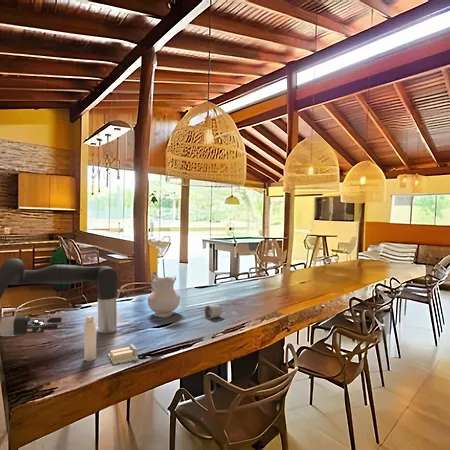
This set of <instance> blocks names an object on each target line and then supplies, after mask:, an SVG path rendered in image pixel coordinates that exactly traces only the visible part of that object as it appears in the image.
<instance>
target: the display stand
mask: <svg viewBox="0 0 450 450" xmlns="http://www.w3.org/2000/svg"><path fill="white" fill-rule="evenodd" d="M108 356H109V357H108ZM107 357H108V359H109V360H110V359H111V360H110V362H111V361H112V362H111V364H112V365H113V364H116V365H118V364H117V363H120V364H124V363H123V362H125V363H128V361H129V362H132V360H134V361H139V357H138V355H137V347H136V346H135V345H134V344H133V343H131V344H129V346H127V347H122V348H116V349H112V350H110V351H109V353H107Z"/></svg>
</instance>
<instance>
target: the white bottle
mask: <svg viewBox="0 0 450 450" xmlns="http://www.w3.org/2000/svg"><path fill="white" fill-rule="evenodd" d="M83 356H84V357H83V360H84V361H85V360H88V361H87V362H90V361H89V360H93V361H95V360H97V320H96V319H95V316H94V315H87V316H85V320H84V321H83ZM94 359H95V360H94Z"/></svg>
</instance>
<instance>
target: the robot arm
mask: <svg viewBox="0 0 450 450" xmlns="http://www.w3.org/2000/svg"><path fill="white" fill-rule="evenodd" d="M81 282H94V283H98V292H97V332H98V333H99V334H100V333H101V334H110V333H114V332H116V331H117V330H118V328H117V327H118V326H117V325H118V323H117V321H118V320H117V319H118V316H117V315H118V313H117V309H118V308H117V306H118V305H117V293H118V273H117V270H116V269H114V268H113V267H111V266H108V265H101V266H81V265H76V264H53V265H48V266H46V267H45V266H44V267H43V268H40V269H33V270H30V269H25V264H24V261H22V260H21V259H20V258H15V257H14V258H13V257H12V258H8V259H5V261H4V262H2V264H1V266H0V300H1V299H2V297H3V295H4V293H5V291H6V290H7V288H8V286H9V285H11V286H12V285H13V286H15V285H17V286H18V285H26V284H27V285H28V284H31V285H32V284H57V285H59V284H60V285H61V284H62V285H65V284H66V285H67V284H69V285H70V284H76V283H81ZM58 323H60V324H61V323H62V317H61V316H57V317H55V316H53V317H52V316H51V315H43V316H42V315H41V316H36V317H34V319H31V318H30V316H29V315H27V314H26V315H12V316H5V317H0V337H14V336H26V335H29V334H39V333H41V334H42V333H44V332H46V331H49V330H51V331H52V330H57V329H58V328H59V327H58V326H59V325H58Z"/></svg>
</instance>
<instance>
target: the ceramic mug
mask: <svg viewBox="0 0 450 450" xmlns="http://www.w3.org/2000/svg"><path fill="white" fill-rule="evenodd" d="M222 314H223V309H222V307H221V306H220V304H209V305H208V304H207V305H206V306H205V307H204V317H206V319H209V320H210V319H215V318H219V317H221V316H222Z"/></svg>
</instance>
